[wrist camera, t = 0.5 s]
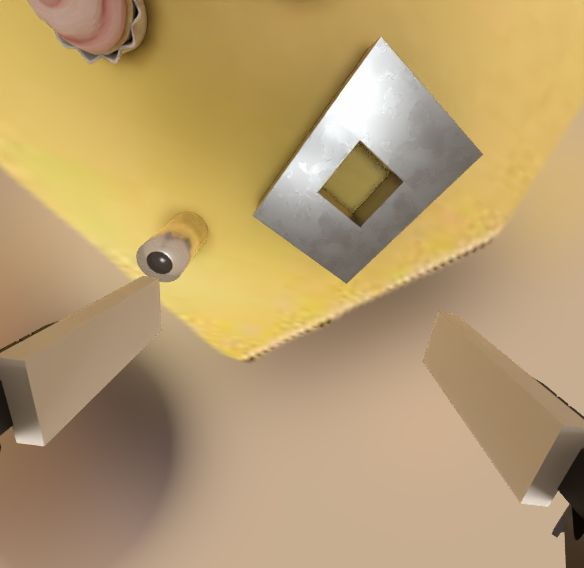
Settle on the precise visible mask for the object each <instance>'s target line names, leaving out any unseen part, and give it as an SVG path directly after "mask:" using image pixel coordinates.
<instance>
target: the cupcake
mask: <svg viewBox="0 0 584 568" xmlns="http://www.w3.org/2000/svg"><path fill="white" fill-rule="evenodd" d="M28 2H29V4H30V5H31V7H32V8H33V9H34V11H35V12H36V14H37V15H38V16H39V17H40V19H42V20H43V21H45V22H46V23H47V24H48V25H49V26H50V27H51V28H53V29H54V31H55V34H56V36H57V39H58V40H59V42H60V43H61V44H62V45H63V46H64V47H66V48H68V49H77V50H78V51H79V53H80V54H81V55H82V56H83V57H84V59H85V60H86V61H87V62H88V63H90V64H91V63H94V62H96V61H97V60H98V59H99V58H101V57H102V58H104V59H106V60H108V61H110V62H112V63H117V62H118V60H119V59H120V57H121V56H122V54H124V53H126V52H129V51H132V50H134V49H136V48H137V47H138V46H139V45H140V44H141V42H142V41H143V39H144V36H145V34H146V29H147V13H146V7H145V4H144V1H143V0H28Z"/></svg>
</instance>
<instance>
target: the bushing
mask: <svg viewBox="0 0 584 568" xmlns="http://www.w3.org/2000/svg"><path fill="white" fill-rule="evenodd" d="M207 237H208V227H207V225H206V223H205V222H204V220H203V219H202V218H201V217H199V216H198V215H196V214H194V213H191V212H183V213H180V214H178V215H177V216H176V217H174V218H173V219H172V220H171V221H170V222H169V223H167V224H166V225H165V226H164V227H163V228H162V229H160V230H159V231H158V232H157V233H156V234H155V235H153V236H152V237H151V238H150V239H149V240H148V241H146V242H145V243H144V244H143V245H142V246H141V247H140V248H139V249H138V251H137V255H136V258H137V263H138V265H139V267H140V269H141V270H142V271H143V272H144V273H145V274H146V275H147V276H148V277H155V278H159V281H160V282H171V281H174V280H176V279H177V278H179V276H180V275H181V274H182V272H183V271H184V270H185V268H186V267H187V266H188V264H189V263H190V261H191V260H192V259H193V257H194V256H195V255H196V253H197V252H198V250H199V249H200V248H201V246H202V245H203V244H204V242H205V241H206V239H207Z"/></svg>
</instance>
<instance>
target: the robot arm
mask: <svg viewBox="0 0 584 568" xmlns="http://www.w3.org/2000/svg"><path fill="white" fill-rule="evenodd" d="M160 331H161V311H160V289H159V278H155V277H147V276H142V277H140V278H138V279H136V280H134V281H133V282H131V283H129V284H127V285H125V286H123V287H121V288H120V289H118V290H116V291H114V292H112V293H111V294H109V295H107V296H105V297H103V298H101V299H99V300H97V301H96V302H94V303H92V304H90V305H88V306H86V307H84V308H83V309H81V310H79V311H77V312H75V313H73V314H71V315H70V316H68V317H66V318H64V319H62V320H61V321H57V322H55V323H52V324H48V325H46V326H44V327H42V328H40V329H38V330H36V331H35V332H32V334H31V335H27V336H25V337H23V338H21V339H19V341H15V342H14V343H12V344H10V345H8V346H6V347H4V348H2V349H0V435H1V434H3V433H4V432H5V431H6V430H8V429H9V428H10V427H11V426H12V427H13V430H14V434H15V438H16V442H17V443H24V444H31V445H40V446H45V445H46V444H47V443H48V442H49V441H50V440H51V439H52V438H53V437H54V436H55V435H56V434H57V433H58V432H59V431H60V430H61V429H62V428H63V427H64V426H65V425H66V424H67V423H68V422H69V421H70V420H71V419H72V418H73V417H74V416H75V415H76V414H77V413H78V412H79V411H80V410H81V409H82V408H83V407H84V406H85V405H86V404H87V403H88V402H89V401H90V400H92V398H94V397H95V396H96V395H97V393H98V392H100V391H101V389H103V388H104V386H106V384H108V383H109V382H110V381H111V380H112V379H113V378H114V377H115V375H117V374H118V373H119V372H120V371H121V370H122V369H123V368H124V367H125V366H126V365H127V364H128V363H129V362H130V361H131V360H132V359H133V358H134V357H135V356H136V355H137V354H138V353H139V352H140V351H141V350H142V349H143V348H144V347H145V346H146V345H147V344H148V343H149V342H150V341H151V340H152V339H153V338H154V337H155V336H156V335H157V334H158V333H159V332H160ZM423 363H424V364H425V366H426V367H427V368H428V370H429V371H430V373H431V374H432V376H433V377H434V378H435V380H436V381H437V383H438V384H439V386H440V387H441V389H442V390H443V392H444V393H445V395H446V396H447V397H448V399H449V400H450V402H451V403H452V405H453V406H454V408H455V409H456V411H457V412H458V413H459V415H460V416H461V418H462V419H463V421H464V422H465V424H466V425H467V427H468V428H469V429H470V431H471V432H472V434H473V435H474V437H475V438H476V439H477V441H478V442H479V444H480V445H481V447H482V448H483V450H484V451H485V452H486V454H487V456H488V457H489V458H490V460H491V461H492V463H493V464H494V466H495V467H496V468H497V470H498V471H499V473H500V474H501V476H502V477H503V479H504V480H505V482H506V483H507V485H508V486H509V487H510V489H511V490H512V492H513V493H514V494H515V496H516V497H517V499H518V500H519V502H520V503H522V504H530V505H540V506H547V507H548V506H549V505H550V503H551V501H552V500H553V498H554V496H555V495H556V493H557V491H558V490H559V491H560V493H561V494H562V495H563V496H564V498H565V499H566V500H567V501H568V502H569V506H568V507H567V509H566V510H565V512H564V514H563V515H562V517H561V518H560V520H559V522H558V523H557V525H556V526H555V528H554V530H553V532H552V534H553V535H554V536H556V537H558V536H559V534H560V533H561V532H565V555H566V568H584V416H582V415H581V414H580V413H579V412H577V411H576V410H575V409H574V408H572V407H571V406H568V403H566V402H565V401H564V400H563V399H561V398H560V397H557V395H556V394H555V393H554V392H553V391H552V390H550V389H549V388H548V387H547V386H545V385H544V384H543V383H541V382H539V381H538V380H536V379H534V378H533V377H531V376H530V375H529V374H528V373H527V372H525V371H524V370H523V369H522V368H520V367H519V366H518V365H517V364H515V363H514V362H513V361H512V360H511V359H509V358H508V357H507V356H506V355H504V354H503V353H502V352H501V351H500V350H499V349H497V348H496V347H495V346H494V345H493V344H491V343H490V342H489V341H488V340H486V339H485V338H484V337H483V336H482V335H480V334H479V333H478V332H477V331H475V330H474V329H473V328H472V327H471V326H469V325H468V324H467V323H466V322H465V321H463V320H462V319H461V318H460V317H458V316H457V315H456V314H455V313H448V312H440V311H439V312H438V313H437V317H436V320H435V323H434V326H433V330H432V333H431V336H430V339H429V342H428V346H427V349H426V352H425V355H424V359H423ZM0 450H1V445H0Z"/></svg>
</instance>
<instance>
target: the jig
mask: <svg viewBox="0 0 584 568" xmlns="http://www.w3.org/2000/svg"><path fill="white" fill-rule="evenodd" d="M358 142H360V143H361V144H362V145H363V146H364V147H365V148H366V149H367V150H368V151H369V152H370V153H371V154H372V155H373V156H374V157H375V158H376V159H378V160H379V161H380V162H381V163H382V164H383V165H384V166H385V167H386V168H387V169H388V170H389V171H390V172H391V174H390V175H389V176H388V177H387V178H386V179H385V180H384V181H383V182H382V183H381V185H380V186H379V187H378V188H377V189H376V190H375V191H374V192H373V193H372V194H371V195H370V197H369V198H368V199H367V200H366V201H365V202H364V203H363V204H362V205H361V206H360V207H359V208H358V210H357V211H356V212H355V213H354V214H353V213H352V212H351V211H349V210H348V209H347V208H346V207H345V206H343V205H342V204H341V203H340V202H339V201H337V200H336V199H335V198H334V197H333V196H331V195H330V194H329V193H328V192H327V191H325V190H324V189H323V188H322V186H323V185H324V184H325V182H326V181H327V180H328V179H329V178H330V176H331V175H332V174H333V173H334V171H335V170H336V169H337V168H338V166H339V165H340V164H341V163H342V161H343V160H344V159H345V158H346V157H347V155H348V154H349V153H350V152H351V150H352V149H353V148H354V147H355V145H356V144H357V143H358ZM482 155H483V154H482V153H481V151H480V150H479V149H478V148H477V147H476V146H475V145H474V143H473V142H472V141H471V140H470V139H469V138H468V137H467V135H466V134H465V133H464V132H463V131H462V130H461V128H460V127H459V126H458V125H457V124H456V123H455V122H454V120H453V119H452V118H451V117H450V116H449V115H448V113H447V112H446V111H445V110H444V109H443V108H442V107H441V105H440V104H439V103H438V102H437V101H436V100H435V98H434V97H433V96H432V95H431V94H430V93H429V92H428V90H427V89H426V88H425V87H424V86H423V85H422V83H421V82H420V81H419V80H418V79H417V78H416V77H415V75H414V74H413V73H412V72H411V71H410V70H409V69H408V67H407V66H406V65H405V64H404V63H403V62H402V60H401V59H400V58H399V57H398V56H397V55H396V54H395V52H394V51H393V50H392V49H391V48H390V47H389V45H388V44H387V43H386V42H385V41H384V40H383V39H382V37H380V38H379V39H378V40H377V41H376V42H375V43H374V44H373V45H371V46H370V47H369V48H368V50H367V51H366V53H365V54H364V56H363V57H362V58H361V60H360V61H359V63H358V64H357V65H356V67H355V68H354V70H353V71H352V72H351V74H350V75H349V77H348V78H347V79H346V81H345V82H344V84H343V85H342V87H341V88H340V89H339V91H338V92H337V94H336V95H335V96H334V98H333V99H332V101H331V102H330V103H329V105H328V106H327V108H326V109H325V110H324V112H323V113H322V115H321V116H320V118H319V119H318V120H317V122H316V123H315V125H314V126H313V127H312V129H311V130H310V132H309V133H308V134H307V136H306V137H305V139H304V140H303V142H302V143H301V144H300V146H299V147H298V149H297V150H296V151H295V153H294V154H293V156H292V157H291V158H290V160H289V161H288V163H287V164H286V165H285V167H284V168H283V170H282V171H281V173H280V174H279V175H278V177H277V178H276V180H275V181H274V182H273V184H272V185H271V187H270V188H269V189H268V191H267V192H266V194H265V195H264V196H263V198H262V199H261V201H260V202H259V204H258V206H257V208H256V210H255V212H254V214H253V216H254V217H255V218H257V219H258V220H259V221H261V222H262V223H264V224H265V225H266V226H268V227H269V228H270V229H272V230H273V231H275V232H276V233H277V234H279V235H280V236H282V237H283V238H284V239H286V240H287V241H288V242H290V243H291V244H293V245H294V246H295V247H297V248H298V249H299V250H301V251H302V252H304V253H305V254H306V255H308V256H309V257H311V258H312V259H313V260H315V261H316V262H317V263H319V264H320V265H322V266H323V267H324V268H326V269H327V270H328V271H330V272H331V273H333V274H334V275H335V276H337V277H338V278H340V279H341V280H342V281H344V282H345V283H346V284H347V283H348V282H349V281H350V280H351V279H352V278H353V277H354V276H355V275H356V274H357V273H358V272H359V271H360V270H362V269H363V268H364V267H365V266H366V265H367V264H368V263H369V262H370V261H371V260H372V259H373V258H374V257H375V256H376V255H377V254H378V253H379V252H380V251H382V250H383V249H384V248H385V247H386V246H387V245H388V244H389V243H390V242H391V241H392V240H393V239H394V238H395V237H396V236H397V235H398V234H399V233H401V232H402V231H403V230H404V229H405V228H406V227H407V226H408V225H409V224H410V223H411V222H412V221H413V220H414V219H415V218H416V217H417V216H418V215H420V214H421V213H422V212H423V211H424V210H425V209H426V208H427V207H428V206H429V205H430V204H431V203H432V202H433V201H434V200H435V199H436V198H437V197H438V196H440V195H441V194H442V193H443V192H444V191H445V190H446V189H447V188H448V187H449V186H450V185H451V184H452V183H453V182H454V181H455V180H456V179H457V178H459V177H460V176H461V175H462V174H463V173H464V172H465V171H466V170H467V169H468V168H469V167H470V166H471V165H472V164H473V163H474V162H475V161H476V160H478V159H479V158H480V157H481V156H482Z"/></svg>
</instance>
